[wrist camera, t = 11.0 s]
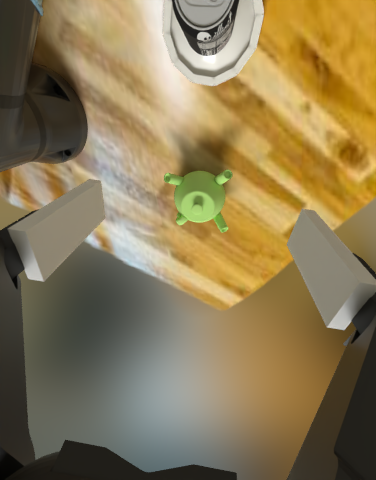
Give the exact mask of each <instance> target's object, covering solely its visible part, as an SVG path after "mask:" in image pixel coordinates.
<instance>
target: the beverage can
mask: <svg viewBox="0 0 376 480" xmlns="http://www.w3.org/2000/svg"><path fill="white" fill-rule="evenodd" d="M238 4H239V0H172V5H173V10H174V13H175V16H176V19H177V21H178V23H179V25H180V27H181V29H182V31H183V33H184V35H185V37H186V39H187V41H188V43H189V45H190V46H191V48H192V49H193V50H194V51H195V52H196V53H198V54H200V55H203V56H212V55H215V54H217V53H218V52H220V51H221V50H222V49H223V48H224V47H225V46H226V44H227V43H228V41H229V39H230V37H231V35H232V31H233V27H234V22H235V18H236V13H237V8H238Z"/></svg>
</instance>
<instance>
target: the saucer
mask: <svg viewBox="0 0 376 480" xmlns="http://www.w3.org/2000/svg"><path fill="white" fill-rule="evenodd" d="M263 14H264V9H263V2H262V0H239V4H238V8H237V13H236V18H235V22H234V27H233V31H232V35H231V37H230V39H229V41H228V43H227V44H226V46H225V47H224V48H223V49H222V50H221V51H220V52H218V53H217V54H215V55H212V56H203V55H200V54H198V53H196V52H195V51H194V50H193V49H192V48H191V46H190V45H189V43H188V41H187V39H186V37H185V35H184V33H183V31H182V29H181V27H180V25H179V23H178V21H177V19H176V16H175V13H174V10H173V5H172V0H164V13H163V31H162V33H163V38H164V40H165V43H166V46H167V49H168V52H169V55H170V58H171V61H172V64H173V65H174V66H175V67H176V68H177V69H178V70H179V71H180V72H181V73H182V74H183V75H184V76H185V77H186V78H187V79H188V80H189V81H190V82H192V83H196V84H201V85H208V86H214V85H215V86H216V85H218V84H220V83H223V82H225V81H227V80H229V79H231V78H233V77H235V76H237V75H238V73H239V72H240V71H241V69H242V68H243V66H244V65H245V64H246V62H247V61H248V60H249V58H250V57H251V55H252V54H253V53H254V51H255V49H256V47H257V42H258V38H259V34H260V30H261V26H262V22H263V17H264V15H263ZM236 74H237V75H236Z"/></svg>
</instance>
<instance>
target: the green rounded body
mask: <svg viewBox="0 0 376 480" xmlns="http://www.w3.org/2000/svg"><path fill="white" fill-rule="evenodd" d="M231 178H232V172H231V171H230V170H225V171H224V172H222V173H221V174H219V175H217V176H215V175H213V174H211V173H209V172H206V171H194V172H190V173H188V174H186V175H185V176H183V177H181V176H177V175H174V174H170V173H166V174H165V176H164V181H165V182H167V183H170V184H174V185H177V186H176V188H175V193H174V199H175V204H176V207H177V209H178V211H179V213H178V214H177V219H176V223H177V224H179V225H182V224H184V223H185V222H186V221H187V220H190V221H193V222H206V221H209V220H211V219H214V221H215V222H216V224H217V226H218V228H219V230H220V231H221V232H225V231H227V230H228V226H227V225H226V223H225V221H224V219H223V217H222V215H221V213H220V211H221V209H222V208H223V205H224V202H225V189H224V186H223V183H225V182H226V181H228V180H229V179H231Z"/></svg>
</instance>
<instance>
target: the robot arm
mask: <svg viewBox="0 0 376 480" xmlns="http://www.w3.org/2000/svg"><path fill="white" fill-rule="evenodd" d="M41 16H43V8H42V0H0V172H2V171H5V170H7V169H10V168H13V167H16V166H19V165H22V164H25V163H28V162H40V163H49V164H58V163H63V162H66V161H68V160H71V159H73V158H75V157H76V156H77V155H78V154H79V153H80V152H81V151H82V149H83V148H84V145H85V143H86V139H87V121H86V116H85V113H84V110H83V107H82V105H81V103H80V101H79V99H78V97H77V95H76V94H75V92H74V91H73V89H72V88H71V87H70V86H69V84H68V83H67V82H66V81H65V80H64V79H63V78H62V77H61V76H59V75H58V74H57V73H55V72H54V71H52V70H51V69H49V68H47V67H45V66H42V65H39V64H34V63H32V58H33V53H34V48H35V42H36V37H37V32H38V27H39V22H40V17H41ZM104 219H105V210H104V202H103V194H102V186H101V181H99V180H92V179H89V180H87V181H86V182H84V183H82V184H81V185H79V186H77V187H76V188H74V189H72V190H71V191H69V192H67V193H66V194H64V195H63V196H61V197H59V198H58V199H56V200H54V201H53V202H51V203H49V204H48V205H46V206H44V207H43V208H41V209H38V210H35V211H32V212H31V213H29V214H28V215H26V216H25V217H22V218H21V219H19V220H18V221H15V222H14V223H12V224H10V225H9V226H7V227H5V228H4V229H2V230H0V480H237V475H236V473H235V472H230V471H224V470H219V469H214V468H209V467H204V466H199V465H188V466H183V467H178V468H173V469H166V470H161V471H156V472H149V473H148V472H144V471H142V470H140V469H139V468H137V467H135V466H134V465H132V464H131V463H129V462H127V461H126V460H124V459H123V458H121V457H120V456H118V455H117V454H115V453H114V452H112V451H110V450H109V449H107V448H105V447H100V446H95V445H89V444H84V443H79V442H74V441H68V440H65V442H64V444H63V446H62V448H61V450H60V451H59V452H55V453H52V454H49V455H46V456H43V457H41V458H39V459H37V460H35V452H34V448H33V444H32V441H31V437H30V434H29V428H28V413H27V394H26V376H25V356H24V338H23V319H22V299H21V281H20V278H19V276H18V274H19V273H21V272H22V271H23V270H25V272H26V274H27V277H28V279H32V280H38V281H45V280H46V279H47V278H48V277H49V276H50V274H52V273H53V271H54V270H55V269H56V268H57V267H58V266H59V265H60V264H61V263H62V262H63V261H64V260H65V259H66V258H67V257H68V256H69V255H70V254H71V253H72V252H73V251H74V250H75V249H76V248H77V247H78V246H79V245H80V244H81V243H82V242H83V241H84V239H85V238H86V237H87V236H88V235H89V234H90V233H91V232H92V231H93V230H94V229H95V228H96V227H97V226H98V225H99V224H100V223H101V222H102V221H103V220H104ZM287 246H288V248H289V250H290V252H291V254H292V256H293V258H294V261H295V263H296V265H297V266H298V269H299V271H300V273H301V275H302V277H303V279H304V281H305V283H306V285H307V287H308V289H309V291H310V294H311V296H312V298H313V300H314V302H315V304H316V306H317V308H318V310H319V312H320V314H321V316H322V318H323V320H324V322H325V324H326V326H327V327H329V328H335V329H341V330H345V329H346V327H347V326H348V325H349V324H350V322H351V321H352V322H353V324H354V325H355V327H356V330H355V331H354V333H353V334H352V335H351V336H350V337H349V338H348V339H347V340H346V342H345V343H344V345H345V346H347V347H346V349H345V351H344V353H343V355H342V357H341V360H340V362H339V364H338V366H337V369H336V371H335V373H334V375H333V378H332V380H331V382H330V384H329V387H328V389H327V391H326V393H325V396H324V398H323V400H322V402H321V405H320V407H319V409H318V411H317V413H316V416H315V418H314V420H313V422H312V424H311V427H310V429H309V431H308V433H307V436H306V438H305V440H304V442H303V445H302V447H301V449H300V451H299V454H298V456H297V458H296V460H295V462H294V465H293V467H292V469H291V471H290V474H289V476H288V478H287V480H376V274H375V272H374V271H373V270H372V269H371V268H370V267H369V266H368V264H367V263H366V262H365V261H364V260H363V259H361V258H360V257H359V256H357V255H356V254H354V253H352V252H351V251H350V250H349V249H348V248H347V247H346V246H345V245H344V243H343V242H342V241H341V240H340V239H339V238H338V237H337V236H336V234H335V233H334V232H333V231H332V230H331V229H330V228H329V227H328V225H327V224H326V223H325V222H324V221H323V220H322V219H321V218H320V216H319V215H318V214H317V213H316V212H315V211H313V210H306V209H302V210H301V213H300V215H299V217H298V220H297V222H296V224H295V227H294V229H293V231H292V233H291V236H290V238H289V240H288V243H287Z"/></svg>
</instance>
